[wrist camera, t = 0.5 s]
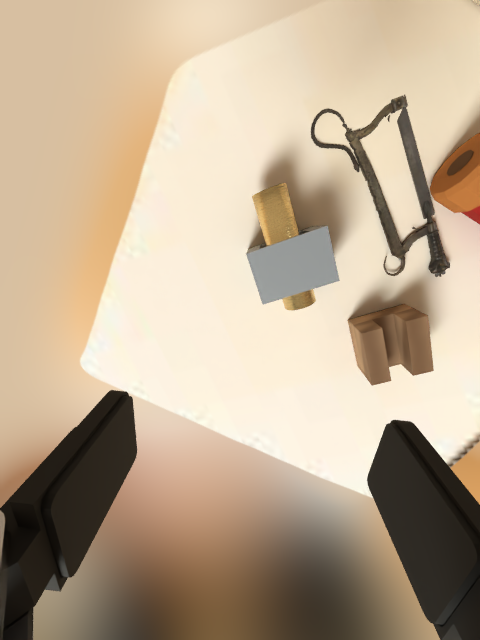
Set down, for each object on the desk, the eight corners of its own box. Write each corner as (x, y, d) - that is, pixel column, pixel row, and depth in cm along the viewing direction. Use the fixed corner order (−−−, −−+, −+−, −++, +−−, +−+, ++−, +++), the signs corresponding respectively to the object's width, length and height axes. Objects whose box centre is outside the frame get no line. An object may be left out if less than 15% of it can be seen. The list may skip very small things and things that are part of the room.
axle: (252, 198, 30) (251, 194, 26) (284, 186, 30) (288, 180, 26) (283, 303, 35) (286, 312, 31) (312, 295, 34) (318, 303, 30)
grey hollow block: (248, 249, 33) (246, 253, 27) (313, 226, 32) (327, 225, 25) (261, 290, 35) (262, 304, 29) (323, 270, 34) (339, 280, 27)
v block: (404, 303, 35) (427, 315, 30) (411, 352, 37) (433, 370, 32) (347, 320, 36) (361, 333, 31) (357, 366, 38) (371, 385, 34)
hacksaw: (446, 270, 33) (455, 272, 32) (369, 303, 35) (374, 306, 34) (396, 66, 26) (404, 56, 25) (304, 122, 28) (307, 116, 27)
